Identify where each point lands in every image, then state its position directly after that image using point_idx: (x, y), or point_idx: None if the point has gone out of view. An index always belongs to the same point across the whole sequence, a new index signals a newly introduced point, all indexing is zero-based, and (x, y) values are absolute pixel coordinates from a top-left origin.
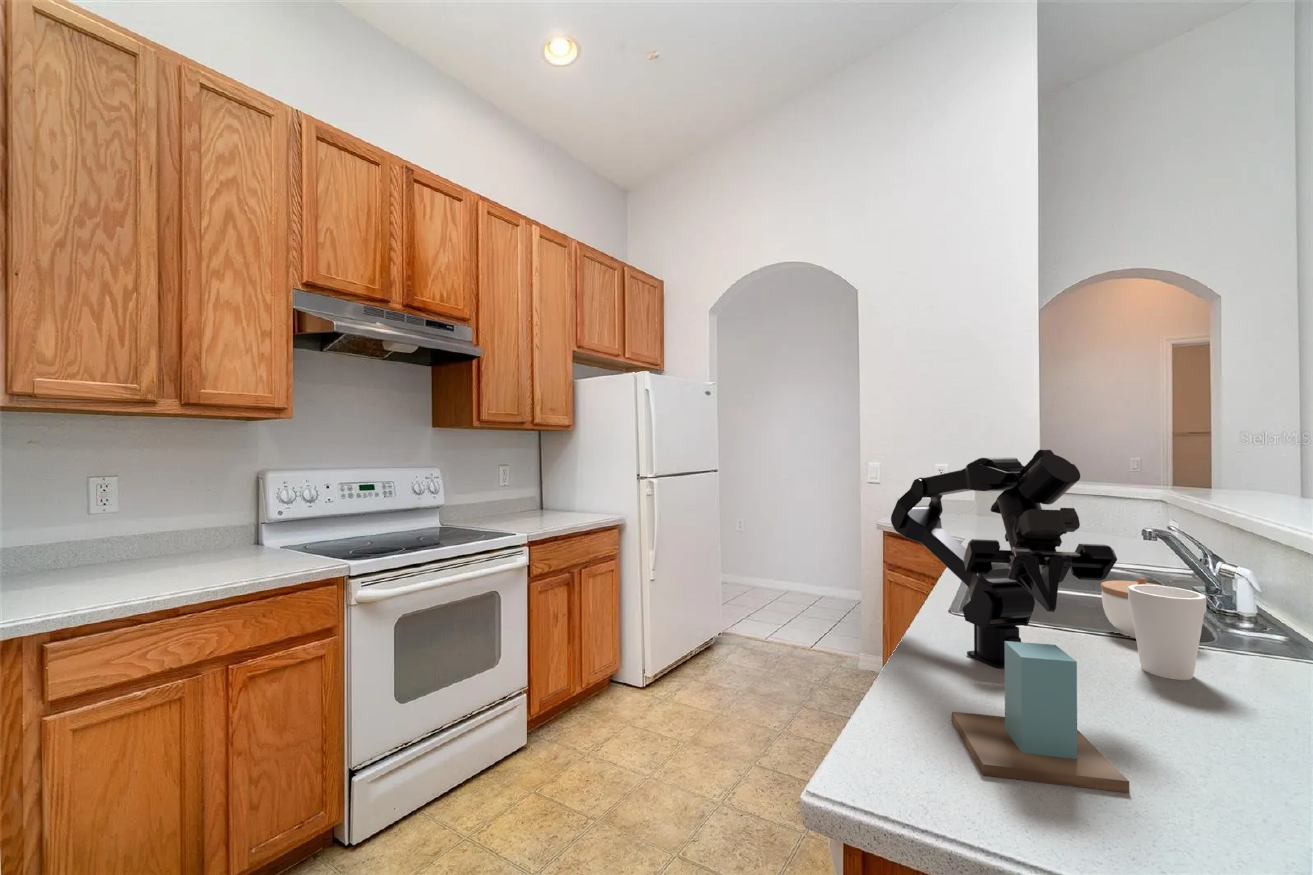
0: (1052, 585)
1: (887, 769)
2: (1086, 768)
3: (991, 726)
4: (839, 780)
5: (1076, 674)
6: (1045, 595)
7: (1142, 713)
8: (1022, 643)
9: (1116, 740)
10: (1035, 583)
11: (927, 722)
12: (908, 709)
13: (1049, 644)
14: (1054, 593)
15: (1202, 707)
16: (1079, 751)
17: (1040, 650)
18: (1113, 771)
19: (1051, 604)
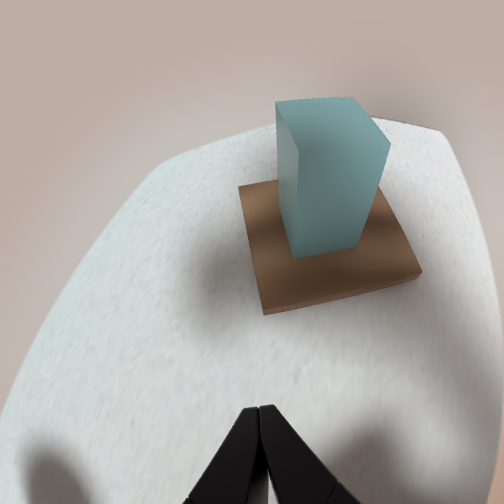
0: (225, 497)
1: (427, 162)
2: (273, 193)
3: (372, 248)
4: (442, 144)
5: (276, 119)
6: (285, 442)
7: (131, 433)
8: (360, 140)
9: (205, 317)
10: (347, 492)
11: (437, 259)
12: (463, 286)
13: (310, 148)
14: (228, 460)
15: (54, 465)
16: (272, 225)
17: (327, 121)
18: (247, 197)
19: (260, 416)
